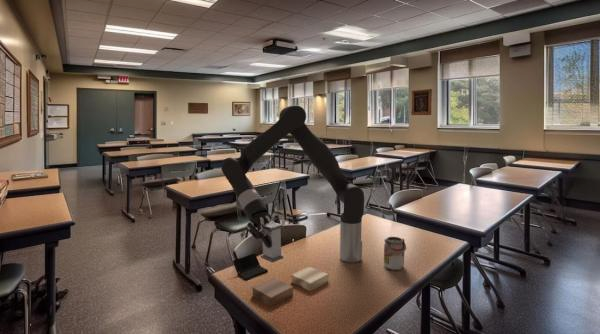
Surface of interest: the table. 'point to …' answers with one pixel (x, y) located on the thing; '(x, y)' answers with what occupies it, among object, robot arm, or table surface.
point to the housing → (272, 241)
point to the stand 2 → (309, 278)
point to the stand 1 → (272, 291)
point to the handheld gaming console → (248, 267)
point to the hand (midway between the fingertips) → (275, 244)
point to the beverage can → (394, 253)
